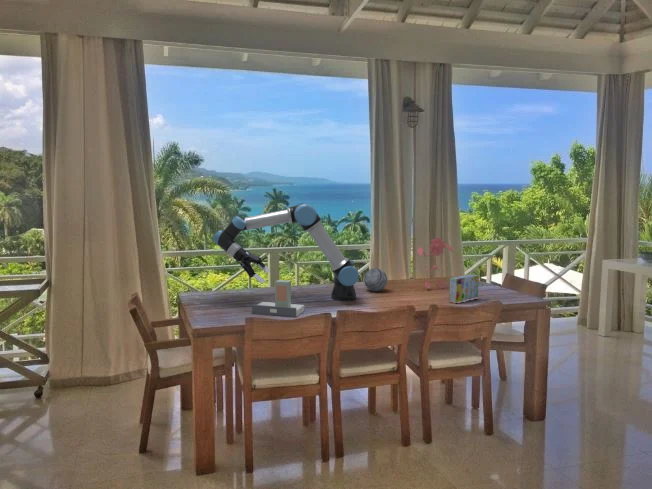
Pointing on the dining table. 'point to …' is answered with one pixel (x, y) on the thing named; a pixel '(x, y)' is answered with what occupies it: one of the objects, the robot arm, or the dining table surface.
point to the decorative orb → (375, 279)
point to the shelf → (277, 309)
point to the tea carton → (283, 293)
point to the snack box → (463, 287)
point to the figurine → (437, 249)
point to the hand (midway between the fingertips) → (266, 277)
